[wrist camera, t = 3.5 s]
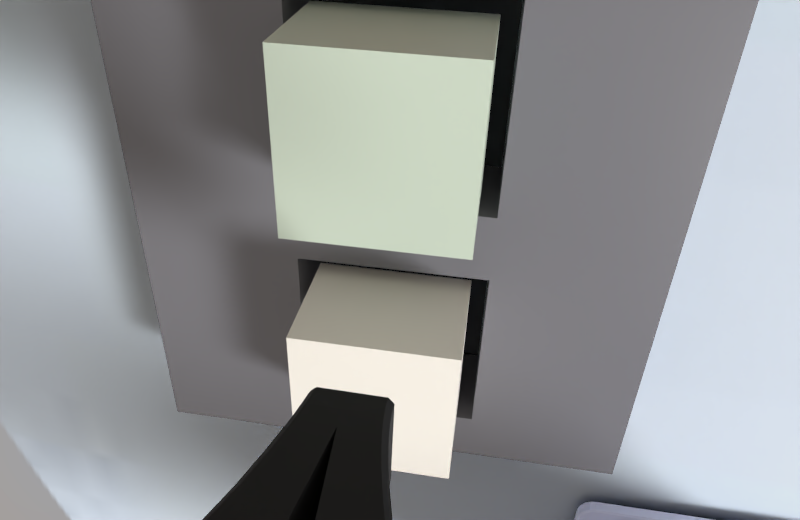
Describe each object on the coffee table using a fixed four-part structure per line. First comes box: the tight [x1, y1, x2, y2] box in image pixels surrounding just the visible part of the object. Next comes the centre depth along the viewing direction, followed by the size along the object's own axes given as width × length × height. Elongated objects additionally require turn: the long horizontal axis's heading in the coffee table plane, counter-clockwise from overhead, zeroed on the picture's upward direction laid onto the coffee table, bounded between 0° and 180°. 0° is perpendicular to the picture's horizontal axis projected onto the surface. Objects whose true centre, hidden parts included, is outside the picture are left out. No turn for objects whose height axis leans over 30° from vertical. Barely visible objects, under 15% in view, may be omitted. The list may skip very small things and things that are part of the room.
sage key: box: [263, 1, 501, 260], centre depth 13 cm, size 4×4×3 cm
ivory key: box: [286, 263, 472, 479], centre depth 16 cm, size 4×4×3 cm
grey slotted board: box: [91, 0, 759, 474], centre depth 14 cm, size 19×12×2 cm, turn 178°
